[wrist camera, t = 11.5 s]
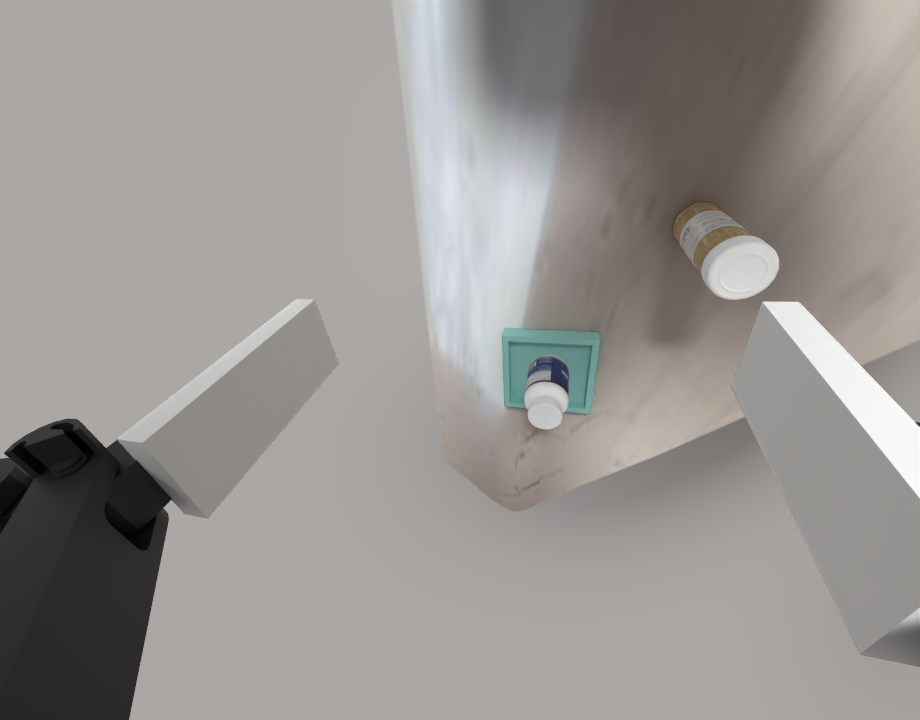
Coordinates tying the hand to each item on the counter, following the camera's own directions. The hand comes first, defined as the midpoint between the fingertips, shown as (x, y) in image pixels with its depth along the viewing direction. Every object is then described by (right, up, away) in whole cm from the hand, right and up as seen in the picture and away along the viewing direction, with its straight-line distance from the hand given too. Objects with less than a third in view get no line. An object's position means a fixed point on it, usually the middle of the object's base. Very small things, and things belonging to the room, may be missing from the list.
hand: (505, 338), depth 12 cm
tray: (+11, -2, +41) cm, 42 cm away
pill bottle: (+11, -2, +40) cm, 42 cm away
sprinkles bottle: (+23, +13, +27) cm, 38 cm away
